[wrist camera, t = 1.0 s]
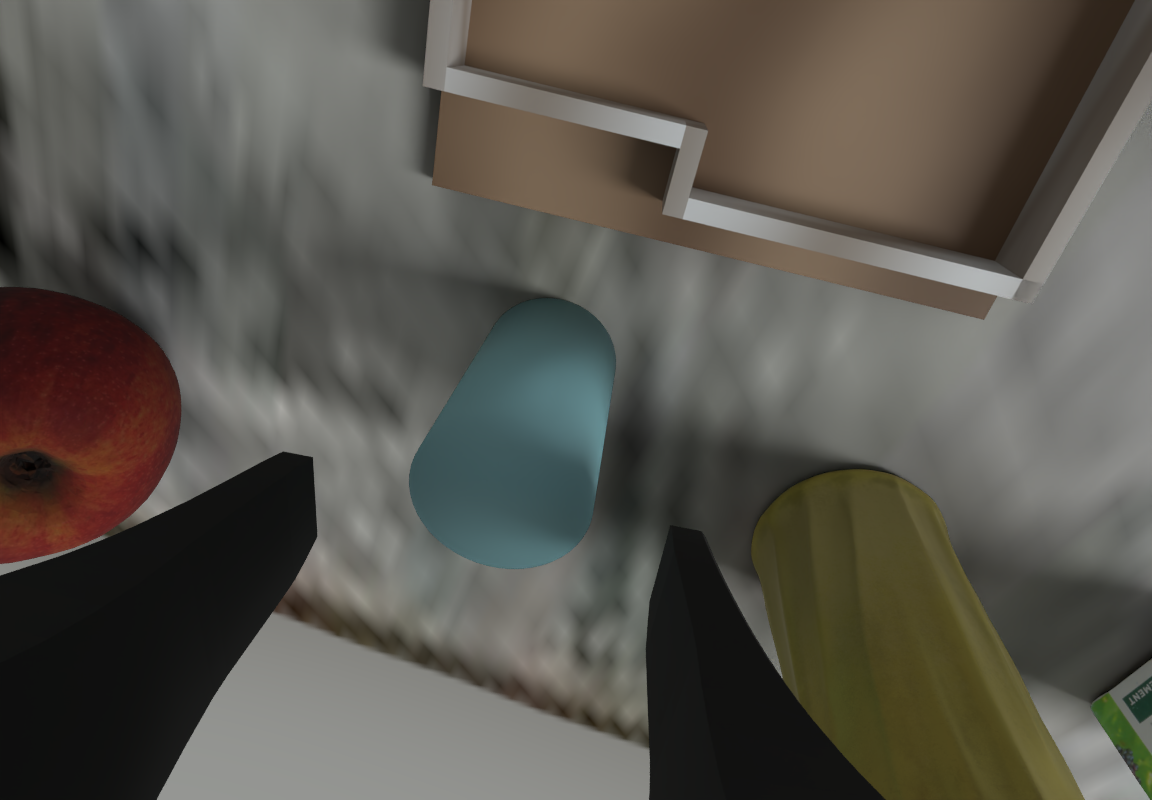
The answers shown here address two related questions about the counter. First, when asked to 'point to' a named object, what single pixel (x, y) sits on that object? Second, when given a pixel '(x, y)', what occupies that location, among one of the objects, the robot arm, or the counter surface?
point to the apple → (77, 421)
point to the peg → (520, 440)
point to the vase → (898, 645)
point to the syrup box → (1130, 722)
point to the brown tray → (802, 128)
